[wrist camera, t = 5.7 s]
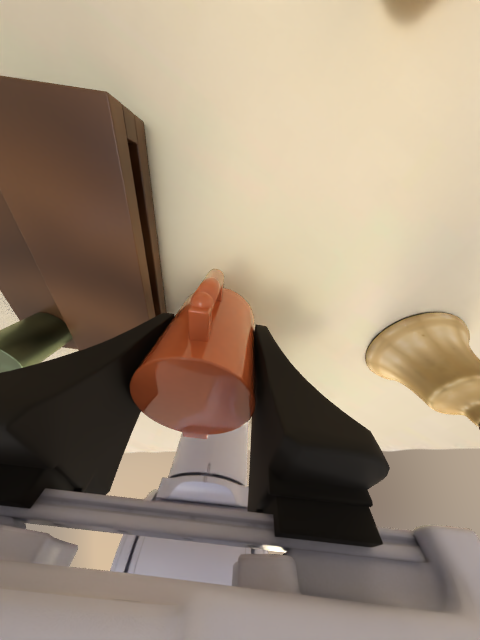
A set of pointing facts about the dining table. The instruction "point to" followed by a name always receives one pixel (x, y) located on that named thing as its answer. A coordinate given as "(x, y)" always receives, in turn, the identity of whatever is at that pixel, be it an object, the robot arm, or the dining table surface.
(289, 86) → the dining table surface
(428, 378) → the hand bell
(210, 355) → the jug
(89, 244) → the step shelf
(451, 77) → the dining table surface
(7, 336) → the tin
